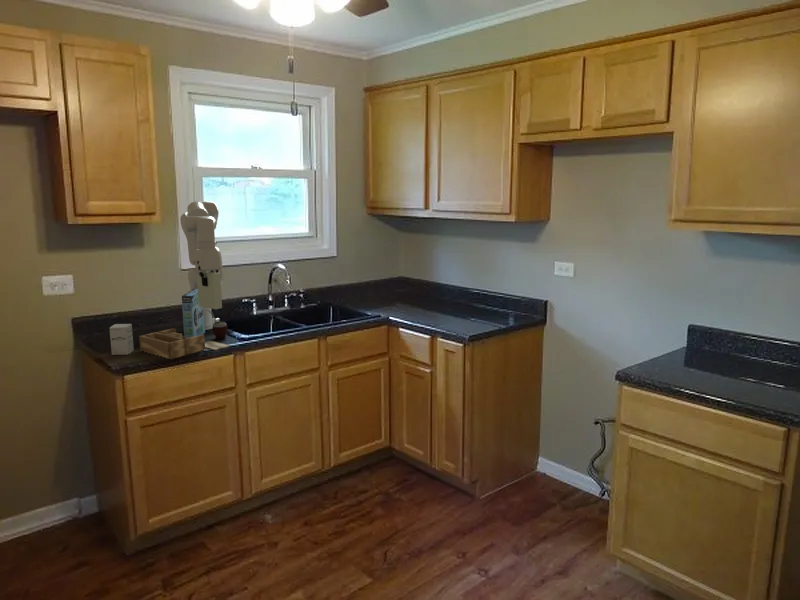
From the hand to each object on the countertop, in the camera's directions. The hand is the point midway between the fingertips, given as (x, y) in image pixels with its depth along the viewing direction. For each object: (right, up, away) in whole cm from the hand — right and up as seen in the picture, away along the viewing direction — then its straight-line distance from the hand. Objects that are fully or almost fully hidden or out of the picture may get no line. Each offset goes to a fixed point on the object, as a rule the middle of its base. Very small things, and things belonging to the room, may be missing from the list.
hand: (209, 284), depth 269 cm
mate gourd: (-1, -26, +19) cm, 32 cm away
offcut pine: (-17, -26, +3) cm, 31 cm away
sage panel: (0, -10, +2) cm, 10 cm away
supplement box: (-37, -31, -5) cm, 48 cm away
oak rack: (-16, -30, -2) cm, 34 cm away
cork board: (0, -28, +5) cm, 29 cm away
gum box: (-13, -26, +21) cm, 36 cm away
